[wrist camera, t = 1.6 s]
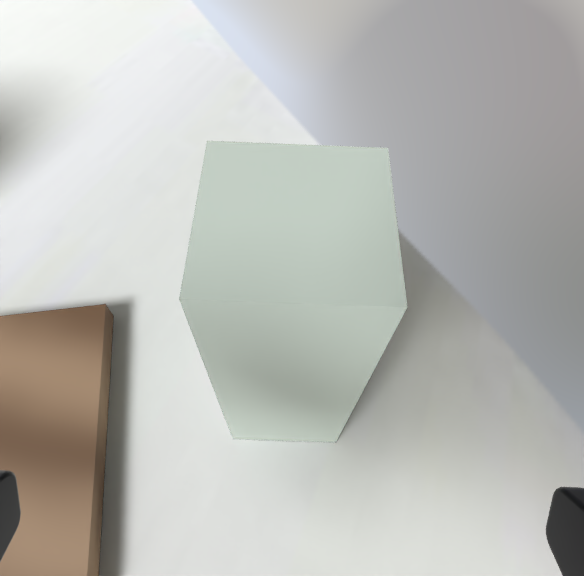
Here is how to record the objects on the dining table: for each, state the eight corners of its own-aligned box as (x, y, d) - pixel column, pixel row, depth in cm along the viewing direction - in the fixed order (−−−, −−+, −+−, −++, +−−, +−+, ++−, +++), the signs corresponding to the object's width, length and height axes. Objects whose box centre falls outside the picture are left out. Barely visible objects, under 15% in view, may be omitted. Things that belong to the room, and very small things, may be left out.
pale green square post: (335, 442, 20) (407, 307, 9) (232, 439, 20) (179, 299, 9) (333, 347, 22) (387, 147, 11) (241, 344, 22) (207, 141, 11)
